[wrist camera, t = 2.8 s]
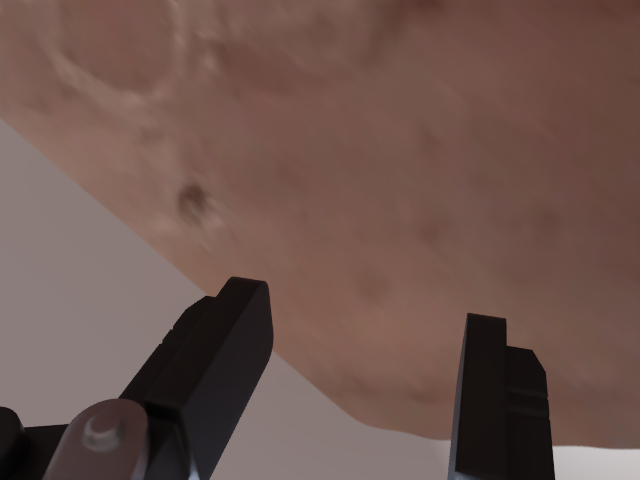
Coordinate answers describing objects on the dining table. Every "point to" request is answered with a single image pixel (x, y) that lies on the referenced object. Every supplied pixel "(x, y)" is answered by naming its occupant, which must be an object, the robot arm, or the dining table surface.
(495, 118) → the dining table surface
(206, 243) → the dining table surface
